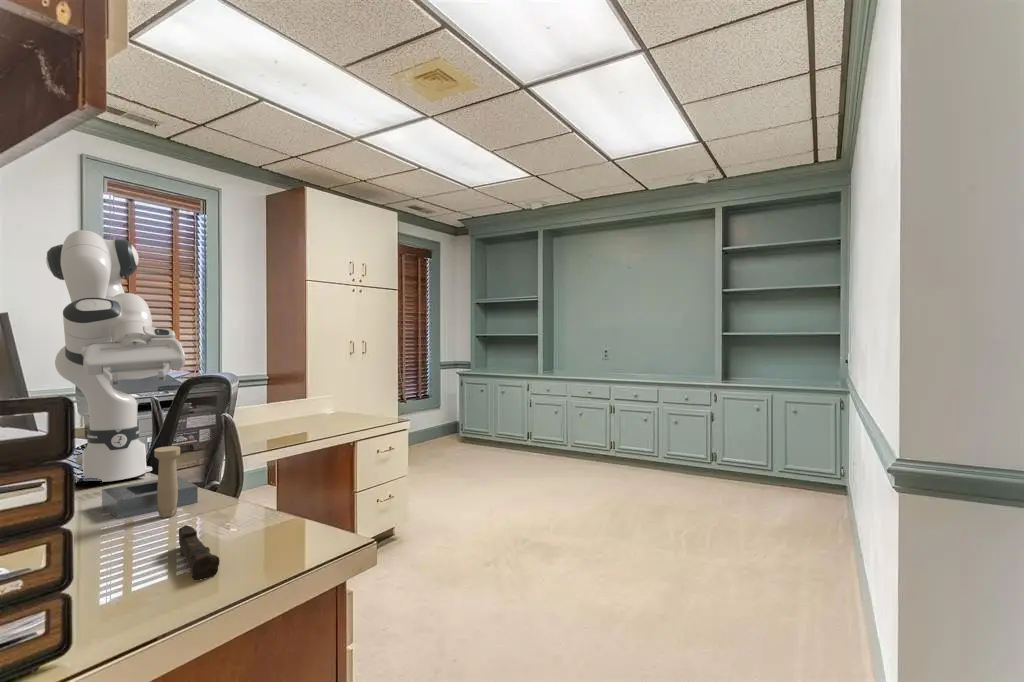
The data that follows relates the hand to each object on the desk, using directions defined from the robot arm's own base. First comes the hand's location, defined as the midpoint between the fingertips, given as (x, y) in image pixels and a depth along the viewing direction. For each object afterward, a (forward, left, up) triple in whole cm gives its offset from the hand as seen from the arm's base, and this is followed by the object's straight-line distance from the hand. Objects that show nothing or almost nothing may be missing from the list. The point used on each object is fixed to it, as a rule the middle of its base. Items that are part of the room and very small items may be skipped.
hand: (138, 380), depth 126 cm
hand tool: (+45, -3, -30) cm, 54 cm away
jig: (0, +2, -30) cm, 30 cm away
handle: (+13, +2, -30) cm, 33 cm away
